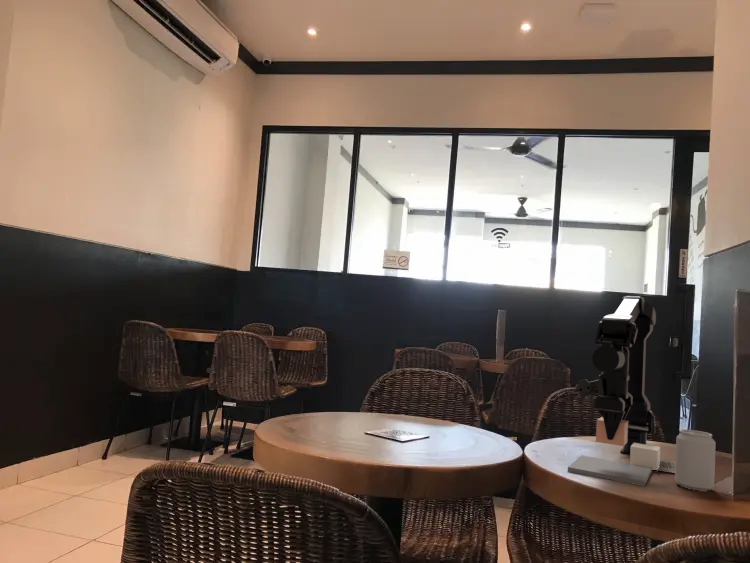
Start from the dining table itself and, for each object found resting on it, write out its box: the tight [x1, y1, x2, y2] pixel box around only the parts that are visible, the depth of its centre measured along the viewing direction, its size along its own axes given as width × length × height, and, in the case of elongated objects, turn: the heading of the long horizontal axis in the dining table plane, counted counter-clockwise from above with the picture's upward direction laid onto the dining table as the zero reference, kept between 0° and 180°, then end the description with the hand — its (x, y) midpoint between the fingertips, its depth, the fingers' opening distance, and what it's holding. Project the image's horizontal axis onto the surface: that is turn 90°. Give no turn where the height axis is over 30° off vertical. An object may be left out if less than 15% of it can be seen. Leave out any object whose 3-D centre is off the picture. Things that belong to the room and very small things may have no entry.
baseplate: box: [567, 454, 653, 487], centre depth 134 cm, size 16×16×1 cm
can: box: [674, 429, 717, 492], centre depth 126 cm, size 8×8×12 cm
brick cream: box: [629, 443, 661, 471], centre depth 143 cm, size 6×6×5 cm
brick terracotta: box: [595, 416, 629, 447], centre depth 135 cm, size 6×6×5 cm
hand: (612, 437), depth 135 cm, fingers closed on brick terracotta, 6 cm apart
